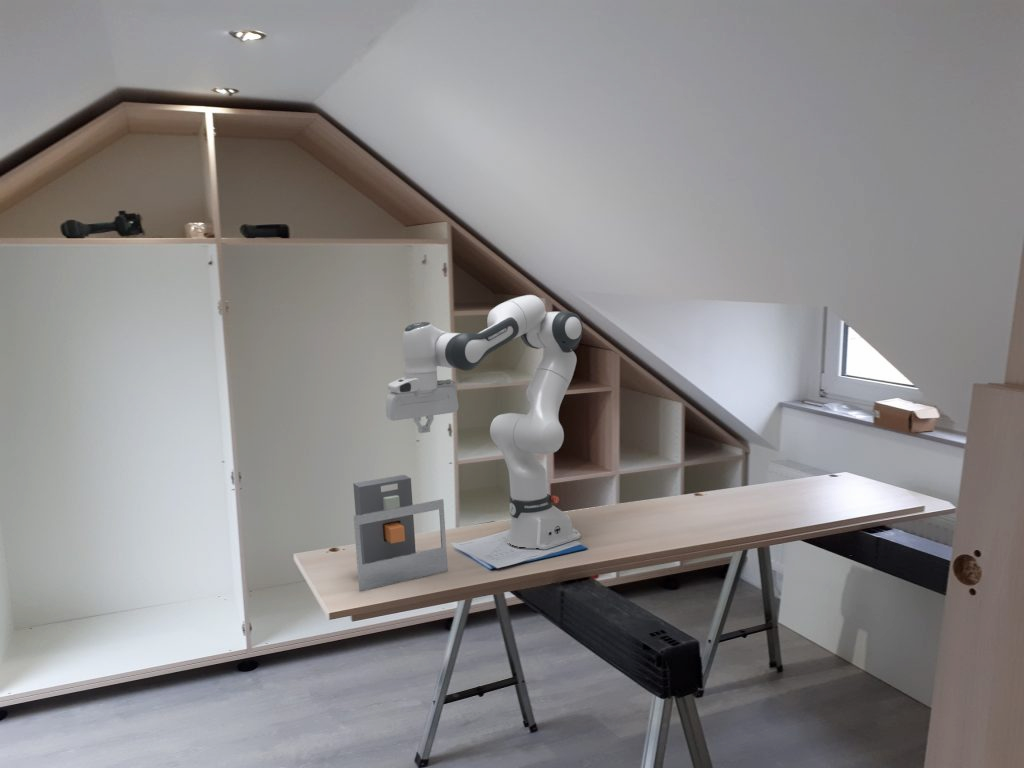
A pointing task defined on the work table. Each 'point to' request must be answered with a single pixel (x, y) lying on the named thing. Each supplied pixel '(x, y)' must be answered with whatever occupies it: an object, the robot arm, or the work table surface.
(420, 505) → the frame
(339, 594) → the work table surface
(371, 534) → the panel
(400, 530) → the plunger
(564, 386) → the robot arm
